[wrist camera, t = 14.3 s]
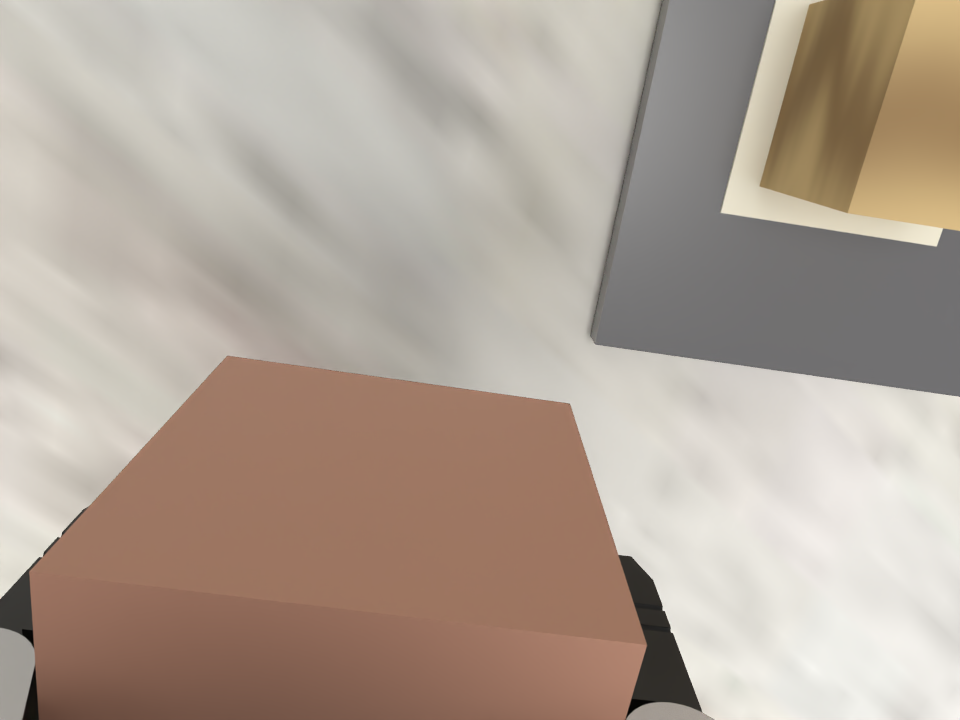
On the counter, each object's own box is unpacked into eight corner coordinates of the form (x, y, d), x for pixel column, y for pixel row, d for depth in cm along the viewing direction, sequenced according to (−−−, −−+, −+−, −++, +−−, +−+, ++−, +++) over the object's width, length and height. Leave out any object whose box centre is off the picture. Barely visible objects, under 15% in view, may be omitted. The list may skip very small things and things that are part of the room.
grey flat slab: (717, -254, 21) (729, -273, 20) (1169, -165, 22) (1204, -178, 21) (590, 335, 27) (595, 345, 26) (949, 387, 28) (968, 398, 27)
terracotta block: (227, 355, 10) (28, 572, 6) (569, 404, 11) (646, 644, 6) (215, 635, 12) (56, 978, 7) (512, 669, 12) (538, 1018, 8)
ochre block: (809, 4, 22) (924, -28, 17) (979, 34, 23) (1148, 12, 17) (759, 186, 24) (847, 213, 18) (917, 211, 24) (1051, 245, 19)
